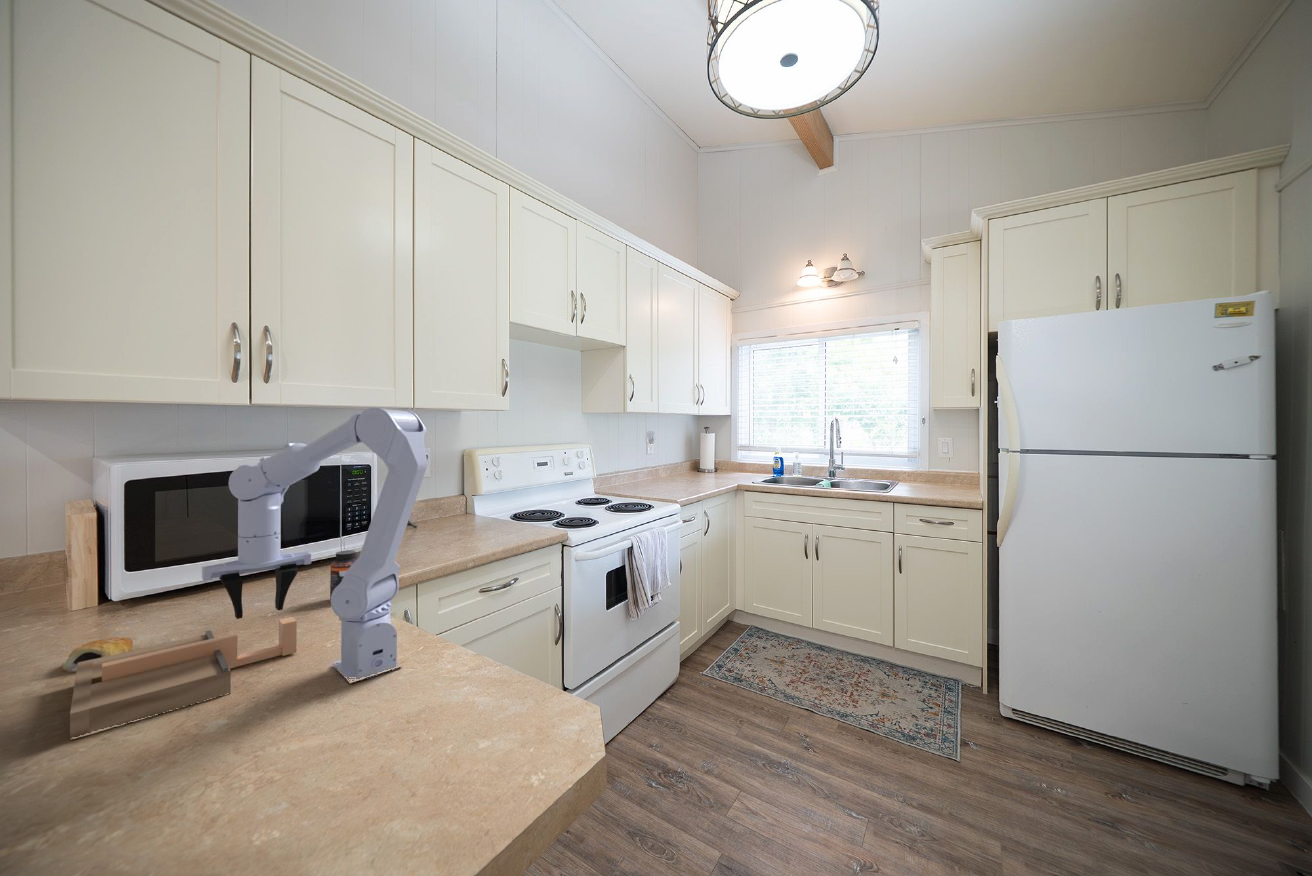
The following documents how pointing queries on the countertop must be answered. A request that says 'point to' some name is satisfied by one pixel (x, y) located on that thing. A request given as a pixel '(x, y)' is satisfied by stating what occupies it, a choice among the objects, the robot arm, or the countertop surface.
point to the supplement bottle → (340, 567)
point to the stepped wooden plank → (203, 653)
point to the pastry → (97, 651)
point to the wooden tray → (144, 688)
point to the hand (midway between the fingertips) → (259, 612)
